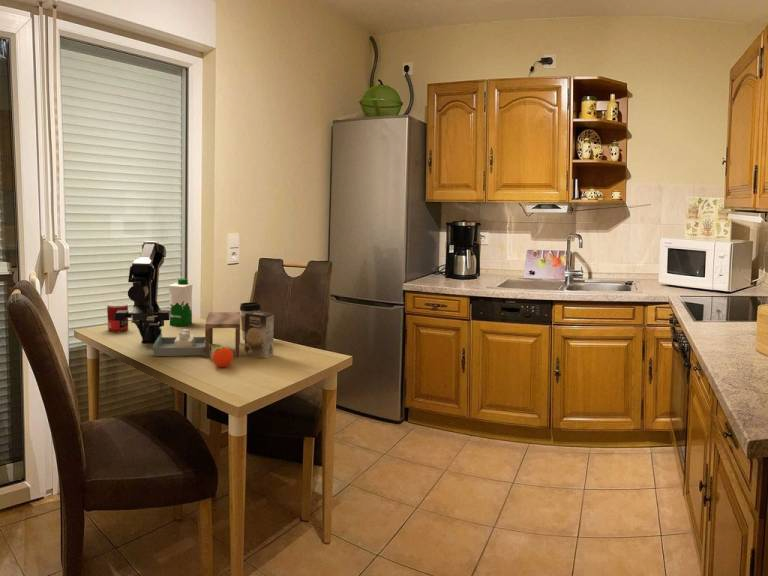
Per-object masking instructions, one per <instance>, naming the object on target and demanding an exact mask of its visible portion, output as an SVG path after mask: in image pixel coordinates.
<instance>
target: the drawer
mask: <svg viewBox="0 0 768 576" xmlns="http://www.w3.org/2000/svg"><path fill="white" fill-rule="evenodd" d="M176 338H177V336H165V337H164V336H163V334H162V335H159V336H158V338H157V340H156V341H155V343H153V346H152V350H153V351H152V354H153V357H181V356H205V336H195V345H194V346H193V347H174V341H175V339H176Z"/></svg>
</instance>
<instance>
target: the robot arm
mask: <svg viewBox="0 0 768 576" xmlns="http://www.w3.org/2000/svg"><path fill="white" fill-rule="evenodd" d="M166 256H167V249H166V247H165V245H162V244H160V243H159V242H158V241H156V240H155V241H150V240H149V241H148V240H147V241H143V243H142V245H141V252H140V254H139V257H138V258H137V259H134V260H133V262H132V263H131V265H130V266H129V273H128V278H127V279H128V283H132V286H131V287H129V288H128V290H127V297H128V298H129V300H130V301H132V302H133V307H132V309H131V312H129V309H128V310H118V311H117V312H116V313H115V314H114V321H123V320H124V319H125V318H128V319H131V322H130V323H132V324H135V326H136V327H137V329H138V332H139V334H140V336H141V337H140V338H141V344H147V343H148V344H151V343H152V344H154V343H155V341H156V340H157V338H158V336H159V335H162V336H163V333H162V332H163V331H162V328H161V327H164V326H165V321H170V318H171V312H170V309H169V310H168V309H164V310H163V309H161V307H160V305H159V304H158V292H159V280H160V279H159V277H160V268H161V267H162V266H163V264H164V263H165V258H166Z"/></svg>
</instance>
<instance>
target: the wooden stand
mask: <svg viewBox="0 0 768 576" xmlns="http://www.w3.org/2000/svg"><path fill="white" fill-rule="evenodd" d="M204 325H205V326H204V329H205V330H204V331H205V333H204V337H205V355H204V356H205V359H210V358H211V353H210V352H211V345H213V344H214V339H213V337H214V334H213V333H214V331H213V330H214V329H234V330H235V333H234V334H235V336H234V338H235V340H234V341H235V348H234V350H235V351H234V352H235V354H234V356H235V357H234V358H240V350H241V349H240V348H241V347H240V344H241V311H240V312H239V311H237V312H236V311H234V312H233V311H231V312H229V311H228V312H226V311H225V312H223V311H219V312H217V311H214V312H213V311H209V312H208V314H207V316H206V320H205V323H204Z"/></svg>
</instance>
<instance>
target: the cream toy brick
mask: <svg viewBox="0 0 768 576" xmlns="http://www.w3.org/2000/svg"><path fill="white" fill-rule="evenodd" d="M190 332H191V329H188V328H183V329H181V332H179V334H178V335H177V336H176V337H177V338H176V339H175V341H174V347H193V346H194V345H195V337H196V335H194V334H192V335H191V333H190Z"/></svg>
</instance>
